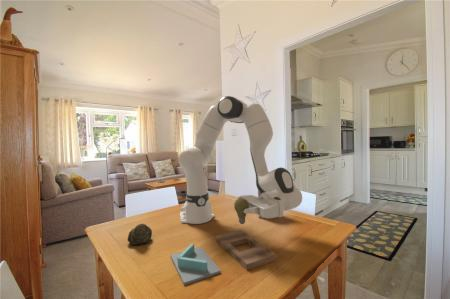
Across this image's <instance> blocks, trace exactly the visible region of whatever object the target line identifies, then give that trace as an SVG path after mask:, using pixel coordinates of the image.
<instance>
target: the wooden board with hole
mask: <svg viewBox="0 0 450 299" xmlns="http://www.w3.org/2000/svg"><path fill="white" fill-rule="evenodd" d="M215 238H216V242H217V243H218V244H219V245H220V246H221V247H222V248H223V249H224V250H225V251H227V253H228V254H229V255H230V256H231V257H232V258H233V259H235V261H237V263H238V264H240V265H241V266H242V267H243V268H244V269H245V270H246V271H249V270H252V269H255V268H258V267H260V266H263V265H266V264H268V263H271V262H274V261H275V262H276V261H277V254H276V253H275V252H273V251H272V250H270V249H269V248H268V247H266V246H264V245H263V244H261V243H260V242H259V241H257V240H256V239H255V238H253V237H251V235H248V234H247V233H246V232H244V231H243V230H241V229H239V230H236V231H231V232H228V233H223V234H220V235H216V236H215ZM244 244H247V245H249V246H250V248H247V249H244V250H241V251H239V249H237V248H236V247H237V246H240V245H244Z"/></svg>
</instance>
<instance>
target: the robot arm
mask: <svg viewBox="0 0 450 299" xmlns="http://www.w3.org/2000/svg"><path fill="white" fill-rule="evenodd" d="M228 122H231V123H236V124H244V125H245V128H246V131H247V135H248V138H249V151H250V156H251V157H250V158H251V160H252V165H253V169H254V172H255V185H256V187H257V188H256V189H257V190H259V192H260V193H262V194H261V195H260V197H258V195H257V196H256V195H253V194H244V195H240V196H238V197H237V199H239V198H244V199H246V200H247V201H248V203H249V208H244V209H243V212H244V213H245V214H246V215H247V214H253V215H254V214H255V215H257V216H259V215H260V216H262V217H263V218H262V219H273V218H282V217H284V212H285V211H290V210H291V211H292V210H293V209H296V208H297V207H299V206H300V205H301V203H302V202H303V193H302V192H301V190H299V189H298V188H297V187H296V185H295V184H294V181H293V176H292V174H291V173H290V171H289V170H288V169H287V168H285V167H277V168H274V169H273V170H270V171H269V169H268V166H267V161H266V158H265V154H266V153H265V152H266V149H267V147H268V145H269V144H270V143H271V141H272V139H273V136H274V132H273V127H272V125H271V122H270V119H269V117H268V115H267V113H266V111H265V110H264V108H263V106H262V105H260V104H259V103H251V104H246V103H245V102H243V101H242V100H241V99H238V98H237V97H234V96H230V95H228V96H223V97H222V98H220V99H219V101H218V103H217V104H214V105H211V106H210V108H209V109H208V110H207V112H206V113H205V115H204V117H203V119H202V120H201V123H200V125H199V127H198V129H197V131H196V133H195V137H196V138H195V144H194V146H193V147H190V148H189V147H188V148H186V149H184V150H183V151H181V152H180V153H179V155H178V157H177V158H178V160H177V161H178V164H179V166H180V167H181V168H182V170H183V172H184V177H185V181H186V182H185V183H186V196H185V202H184V203H183V206H181V207H180V212H179V218H180V222H181V224H191V225H198V224H199V225H201V224H204V223H205V224H206V223H208V222H210V221H211V220H212V219H213V218H215V214H214V213H213V208H212V202H211V201H210V200H209V199H210V194H209V192H208V178H207V177H206V175H205V174H206V173H205V171H204V167H205V166H207V165H208V163H210V161H211V160H212V154H213V150H214V147H215V145H216V144H215V143H216V142H217V140H218V138H219V135H220V134H221V132H222V131H223V130H222V129H223V127H224V126H225V124H226V123H228Z"/></svg>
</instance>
